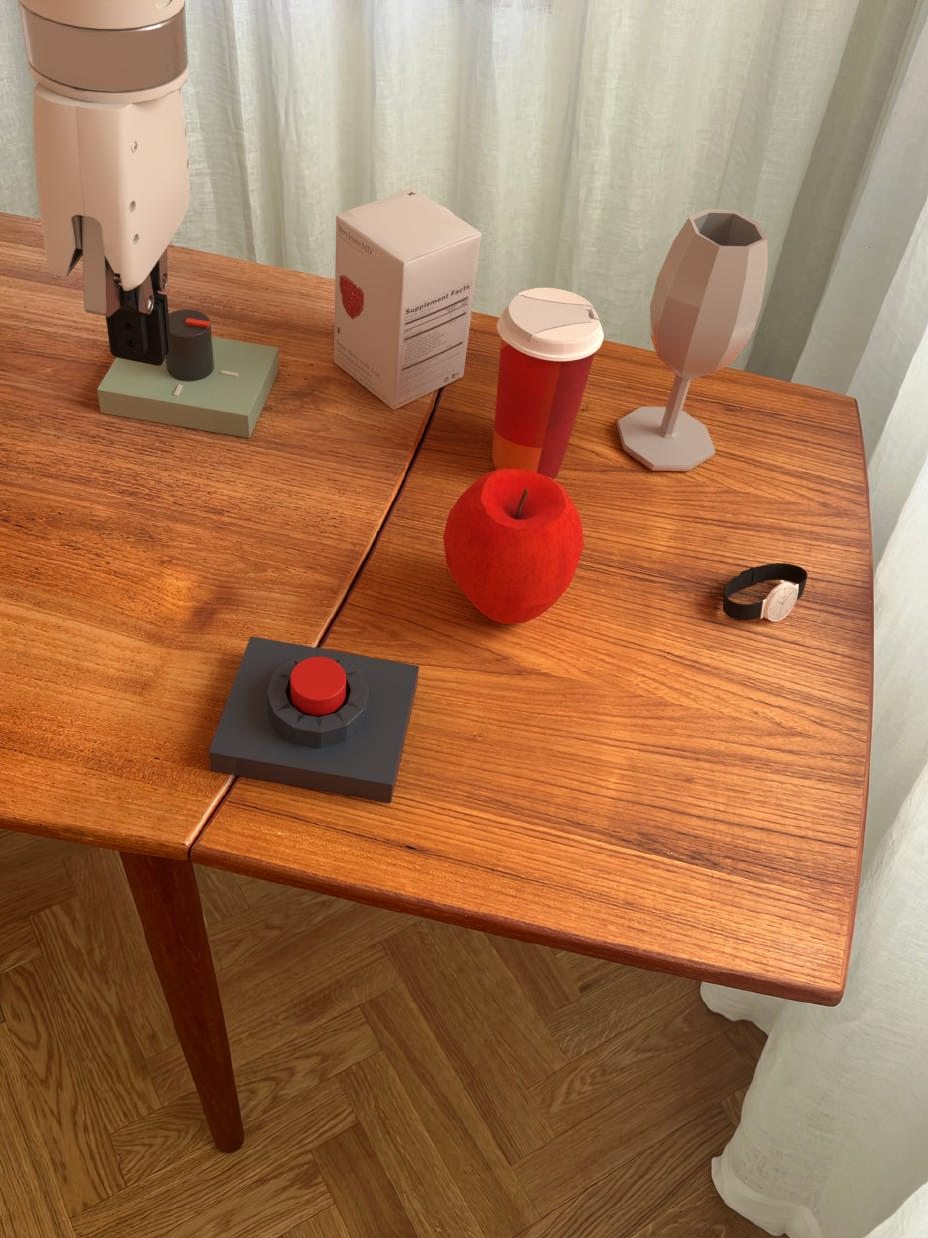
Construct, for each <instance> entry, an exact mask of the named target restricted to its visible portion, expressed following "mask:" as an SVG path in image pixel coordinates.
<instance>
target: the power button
mask: <svg viewBox="0 0 928 1238" xmlns="http://www.w3.org/2000/svg"><path fill="white" fill-rule="evenodd" d="M290 689H291V699H292V702H293V703H294V705H295V706H296V707H297V708H298V709H299V710H300V711H302V712H304V713H306V714H309V715H315V716H321V715H327V714H330V713H332V712H334V711H336V710H337V709H338V708H339V707H340V706H341V705H342V704H343V702H344V700H345V697H346V674H345V671H344V669H343V668H342V666H341V665H340V664H338V663H337V662H336V661H334V660H332V659H329V658H326V657H311V658H307V659H305V660H303V661H301V662H300V663H298V664H297V665H296V666H295V667H294V669H293V671H292V673H291V676H290Z"/></svg>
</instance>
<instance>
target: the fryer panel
mask: <svg viewBox="0 0 928 1238" xmlns="http://www.w3.org/2000/svg"><path fill="white" fill-rule="evenodd" d="M212 347H213V359H214V369H213V371H212V373H211V374H210V375H209V376H207V377H205V378H203V379H200V380H196V381H184V380H180V379H177V378H175V377H173V376H171V375H170V374H169V372H168V370H167V366H166V358H165V360H164V362H163V363H162V365H160V366H156V365H151V364H146V363H141V362H136V361H131V360H126V359H121V358H117V357H115V358H114V361H113V362H112V364H111V365H110V367H109V369H108V370H107V372H106V374H105V375H104V376H103V378H102V380H101V382H100V384H99V385H98V387H97V388H96V392H97V399H98V404H99V409H100V413H101V414H105V415H111V416H116V417H123V418H127V419H128V418H129V419H134V420H139V421H145V422H152V423H156V424H162V425H167V426H168V425H170V426H174V427H180V428H186V429H193V430H197V431H204V432H210V433H215V434H222V435H227V436H234V437H238V438H244V439H245V438H246V439H250V438H251V436H252V434H253V432H254V430H255V427H256V425H257V423H258V421H259V418H260V416H261V413H262V411H263V409H264V406H265V404H266V402H267V400H268V397H269V395H270V393H271V390H272V388H273V386H274V384H275V381H276V379H277V377H278V374H279V372H280V349H279V347H277V346H271V345H265V344H259V343H254V342H248V341H242V340H236V339H231V338H224V337H219V336H212Z"/></svg>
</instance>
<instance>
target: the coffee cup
mask: <svg viewBox="0 0 928 1238" xmlns="http://www.w3.org/2000/svg"><path fill="white" fill-rule="evenodd" d="M600 321H601V320H600V317H599V316H598V313H597V311H596V309H594V305H593V304H592V303H591V302H590V301H589V300H587V299H586V298H584V297H583V296H580V295H579V294H577V293H574V292H572V291H569V290H565V289H561V288H554V287H535V288H534V287H533V288H530V289H526V290H523V291H520V292H519V293H517V294H516V295H515V296H514V297H513V298H512V299H511V301H510V302H509V304H508V305H507V306H506V307H505V308H504V310H503V311H502V312H501V314H500V316H499V318H498V320H497V323H496V325H495V326H496V330H497V333H498V335H499V336H500V348H499V349H500V351H499V361H498V374H497V386H496V397H495V398H496V399H495V409H494V410H495V411H494V424H493V436H492V437H493V438H492V464H493V467H494V469H495V470H499V469H503V468H504V469H520V470H526V471H532V472H536V473H539V474H541V475H544V476H547V477H550V478H552V479H553V480H554V479H555V478H556V477H557V476H558V474H559V472H560V471H561V467H562V464H563V462H564V459H565V456H566V452H567V450H568V445H569V442H570V439H571V436H572V433H573V429H574V426H575V422H576V419H577V416H578V414H579V411H580V407H581V404H582V400H583V397H584V393H585V389H586V386H587V382H588V378H589V375H590V371H591V368H592V364H593V361H594V357H595V354H596V353H597V351H598V350H599V349H600V348H601V346H602V345H603V342H604V338H605V336H604V330H603V327H602V324H601V322H600Z"/></svg>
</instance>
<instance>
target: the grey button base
mask: <svg viewBox="0 0 928 1238" xmlns="http://www.w3.org/2000/svg"><path fill="white" fill-rule="evenodd" d="M311 657H326V658H329V659H332V660H334V661H336V662H337V663H338V664H340V665H341V666H342V668H343V669H344V671H345V674H346V697H345V700H344V702H343V704H342V705H341V706H340V707H339V708H338V709H337V710H336V711H334V712H332V713H330V714H327V715H321V716H315V715H309V714H306V713H304V712H302V711H300V710H299V709H298V708H297V707H296V706H295V705H294V703H293V702H292V699H291V689H290V676H291V673H292V671H293V669H294V667H295V666H296V665H297V664H298V663H300V662H301V661H303V660H305V659H307V658H311ZM419 671H420V665H417V664H410V663H406V662H400V661H395V660H387V659H383V658H378V657H377V658H376V657H371V656H366V655H360V654H354V653H349V652H343V651H339V650H331V649H325V648H320V647H314V646H309V645H304V644H297V643H291V642H286V641H280V640H274V639H269V638H263V637H258V636H250V637H249V638H248V641H247V644H246V647H245V650H244V653H243V656H242V658H241V662H240V663H239V667H238V669H237V672H236V675H235V678H234V680H233V683H232V686H231V689H230V690H229V691H230V692H229V693H228V697H227V700H226V702H225V705H224V708H223V710H222V713H221V716H220V719H219V721H218V724H217V727H216V730H215V733H214V735H213V738H212V741H211V744H210V746H209V749H208V759H209V767H210V771H211V772H215V773H219V774H225V775H232V776H238V777H243V778H249V779H254V780H260V781H265V782H271V783H277V784H283V785H286V786H294V787H299V788H305V789H310V790H314V791H315V790H316V791H322V792H327V793H333V794H338V795H344V796H349V797H354V798H355V797H356V798H361V799H365V800H372V801H377V802H383V803H389V804H391V803H392V801H393V796H394V792H395V787H396V783H397V778H398V774H399V769H400V765H401V761H402V756H403V751H404V747H405V742H406V737H407V734H408V729H409V724H410V719H411V715H412V711H413V705H414V701H415V697H416V693H417V688H418V680H419Z"/></svg>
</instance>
